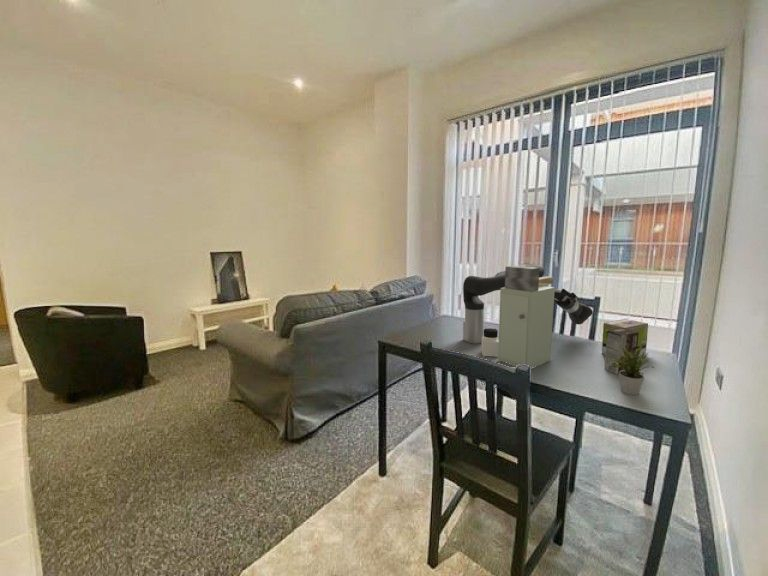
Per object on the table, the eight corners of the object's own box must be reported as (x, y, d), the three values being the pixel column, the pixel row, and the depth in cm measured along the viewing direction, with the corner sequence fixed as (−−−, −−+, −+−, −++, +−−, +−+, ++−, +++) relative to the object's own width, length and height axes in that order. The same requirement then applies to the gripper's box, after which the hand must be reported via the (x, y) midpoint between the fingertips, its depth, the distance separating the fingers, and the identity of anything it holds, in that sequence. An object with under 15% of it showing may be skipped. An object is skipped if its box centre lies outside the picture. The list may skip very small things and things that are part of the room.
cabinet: (495, 361, 150) (498, 288, 144) (521, 351, 160) (524, 283, 155) (525, 371, 138) (529, 293, 133) (550, 360, 149) (554, 287, 144)
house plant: (611, 377, 131) (615, 336, 128) (657, 389, 121) (662, 344, 119) (600, 389, 122) (603, 345, 119) (648, 403, 112) (654, 355, 109)
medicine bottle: (499, 357, 154) (499, 331, 152) (482, 356, 155) (483, 330, 153) (497, 351, 161) (498, 326, 159) (481, 351, 162) (481, 326, 160)
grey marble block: (504, 287, 145) (505, 266, 144) (536, 281, 159) (537, 262, 157) (531, 291, 136) (532, 268, 134) (562, 284, 149) (564, 264, 148)
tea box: (623, 348, 161) (626, 317, 159) (646, 355, 152) (649, 323, 149) (600, 353, 156) (603, 321, 154) (622, 361, 147) (625, 327, 144)
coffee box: (620, 365, 142) (624, 327, 139) (635, 371, 136) (639, 332, 133) (603, 368, 140) (606, 330, 137) (617, 374, 134) (621, 334, 131)
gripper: (555, 293, 172) (540, 280, 163) (585, 297, 160) (571, 283, 151) (550, 307, 171) (535, 294, 162) (580, 312, 159) (566, 299, 150)
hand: (552, 289), depth 156 cm, fingers open, 8 cm apart
